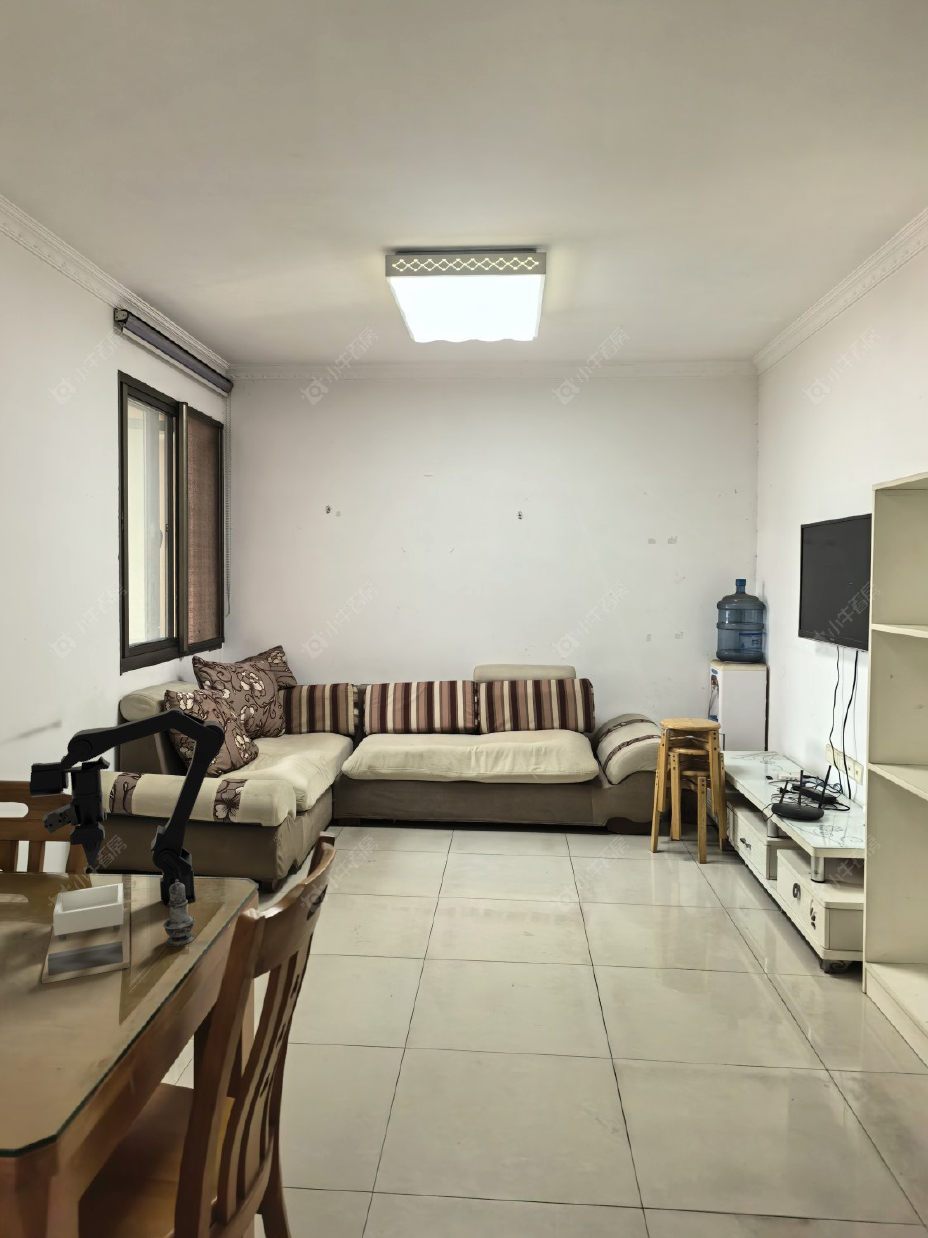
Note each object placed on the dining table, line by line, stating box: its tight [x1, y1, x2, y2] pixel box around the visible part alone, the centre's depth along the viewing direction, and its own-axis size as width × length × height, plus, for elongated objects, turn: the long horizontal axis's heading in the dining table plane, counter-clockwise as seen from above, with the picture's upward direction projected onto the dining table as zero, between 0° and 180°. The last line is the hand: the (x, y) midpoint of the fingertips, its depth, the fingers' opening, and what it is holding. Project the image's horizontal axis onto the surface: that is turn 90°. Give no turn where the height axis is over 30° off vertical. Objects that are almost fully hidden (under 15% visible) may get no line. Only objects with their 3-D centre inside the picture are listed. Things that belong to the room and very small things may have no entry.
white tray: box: [52, 882, 125, 940], centre depth 166 cm, size 12×12×5 cm
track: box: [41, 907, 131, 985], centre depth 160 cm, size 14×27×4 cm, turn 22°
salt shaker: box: [162, 879, 196, 947], centre depth 160 cm, size 6×6×12 cm
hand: (91, 865), depth 176 cm, fingers closed
